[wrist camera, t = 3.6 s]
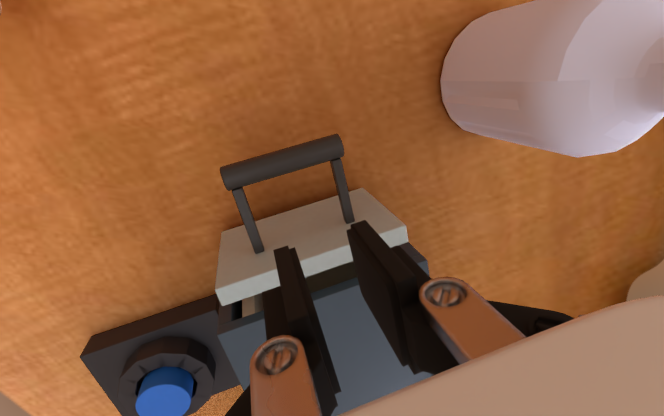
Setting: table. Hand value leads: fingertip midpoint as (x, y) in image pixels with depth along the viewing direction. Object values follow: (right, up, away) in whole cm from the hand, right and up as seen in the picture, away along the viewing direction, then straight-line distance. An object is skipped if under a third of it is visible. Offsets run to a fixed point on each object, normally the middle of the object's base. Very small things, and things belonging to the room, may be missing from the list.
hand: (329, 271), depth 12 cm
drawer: (-2, -1, +16) cm, 16 cm away
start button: (-12, -11, +14) cm, 21 cm away
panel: (-13, -10, +17) cm, 24 cm away
